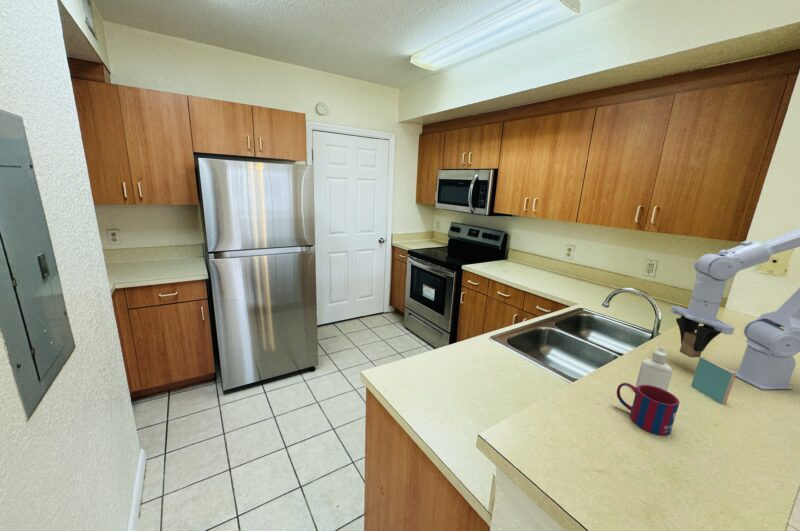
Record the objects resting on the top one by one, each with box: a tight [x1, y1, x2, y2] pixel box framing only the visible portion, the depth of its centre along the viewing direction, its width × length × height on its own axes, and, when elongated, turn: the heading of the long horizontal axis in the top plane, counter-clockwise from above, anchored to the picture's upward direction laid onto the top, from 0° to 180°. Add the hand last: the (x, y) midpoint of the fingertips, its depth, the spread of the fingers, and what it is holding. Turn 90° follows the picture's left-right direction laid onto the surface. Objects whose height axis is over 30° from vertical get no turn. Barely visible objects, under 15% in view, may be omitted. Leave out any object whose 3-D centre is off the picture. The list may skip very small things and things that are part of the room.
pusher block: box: [679, 331, 703, 358], centre depth 87 cm, size 3×3×6 cm
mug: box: [616, 382, 680, 436], centre depth 67 cm, size 7×10×7 cm
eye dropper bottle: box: [635, 346, 673, 391], centre depth 75 cm, size 4×6×12 cm
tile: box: [690, 356, 736, 405], centre depth 77 cm, size 1×7×8 cm, turn 7°
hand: (691, 347), depth 87 cm, fingers closed on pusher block, 3 cm apart
